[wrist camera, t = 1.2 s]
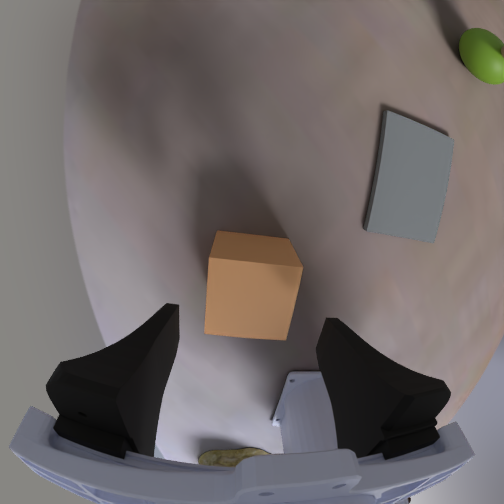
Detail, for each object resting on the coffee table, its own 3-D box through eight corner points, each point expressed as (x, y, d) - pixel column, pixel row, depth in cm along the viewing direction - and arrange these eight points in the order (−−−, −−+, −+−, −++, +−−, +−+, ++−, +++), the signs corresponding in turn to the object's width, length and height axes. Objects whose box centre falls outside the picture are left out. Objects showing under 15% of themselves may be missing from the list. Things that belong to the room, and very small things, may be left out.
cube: (276, 299, 21) (285, 340, 16) (211, 293, 20) (204, 333, 16) (288, 238, 19) (303, 267, 14) (217, 230, 19) (209, 257, 14)
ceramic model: (193, 444, 29) (186, 505, 20) (275, 445, 30) (282, 506, 20) (205, 476, 34) (203, 522, 25) (270, 476, 35) (274, 523, 25)
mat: (429, 240, 19) (433, 243, 19) (363, 228, 19) (366, 231, 18) (449, 139, 16) (454, 139, 16) (383, 111, 16) (387, 110, 15)
